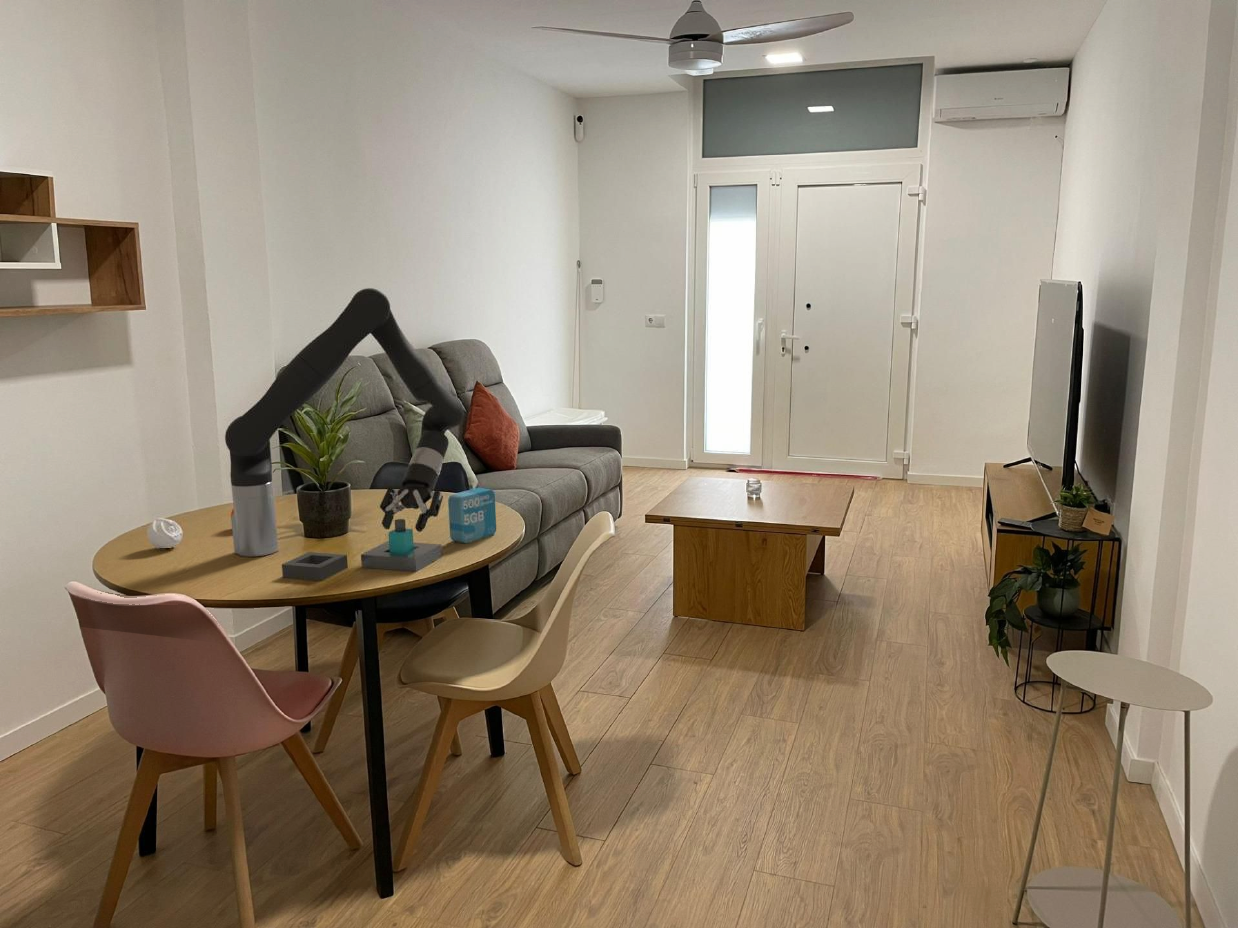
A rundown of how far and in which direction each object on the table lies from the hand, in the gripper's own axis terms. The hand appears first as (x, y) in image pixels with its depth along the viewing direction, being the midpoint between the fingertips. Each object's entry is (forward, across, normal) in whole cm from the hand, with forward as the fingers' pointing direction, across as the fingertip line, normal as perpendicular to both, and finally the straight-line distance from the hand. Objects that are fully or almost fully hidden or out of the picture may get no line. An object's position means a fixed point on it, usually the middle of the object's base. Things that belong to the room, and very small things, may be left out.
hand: (401, 528), depth 216 cm
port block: (+6, 0, +5) cm, 8 cm away
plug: (+6, 0, +5) cm, 8 cm away
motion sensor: (+9, -64, +2) cm, 65 cm away
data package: (-10, +7, +21) cm, 25 cm away
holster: (+14, -15, -4) cm, 21 cm away
